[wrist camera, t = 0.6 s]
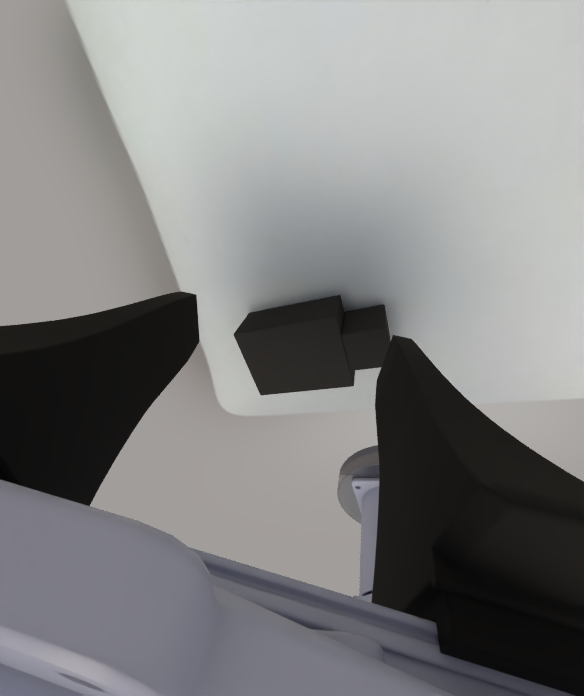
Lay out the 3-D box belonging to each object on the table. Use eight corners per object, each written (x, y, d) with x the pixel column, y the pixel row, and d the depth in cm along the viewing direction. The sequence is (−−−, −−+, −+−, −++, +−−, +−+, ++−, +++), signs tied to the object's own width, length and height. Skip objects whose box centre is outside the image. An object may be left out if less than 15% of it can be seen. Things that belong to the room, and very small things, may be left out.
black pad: (392, 354, 21) (395, 382, 18) (271, 370, 24) (260, 395, 21) (381, 286, 18) (383, 307, 16) (248, 312, 21) (232, 334, 19)
